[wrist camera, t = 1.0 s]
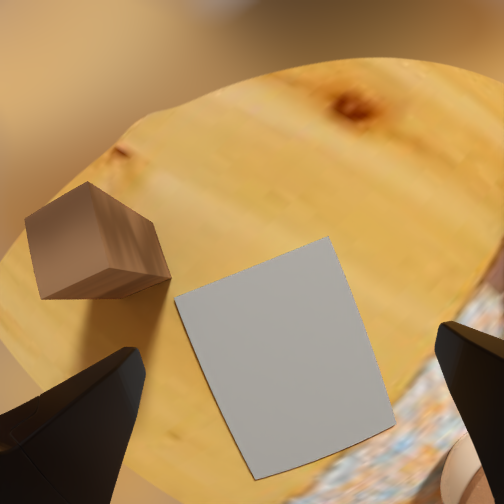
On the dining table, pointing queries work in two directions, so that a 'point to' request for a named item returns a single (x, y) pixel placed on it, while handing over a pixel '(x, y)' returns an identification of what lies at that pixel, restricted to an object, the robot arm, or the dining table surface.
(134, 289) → the walnut block
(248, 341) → the mat
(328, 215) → the dining table surface
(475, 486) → the lidded jar
